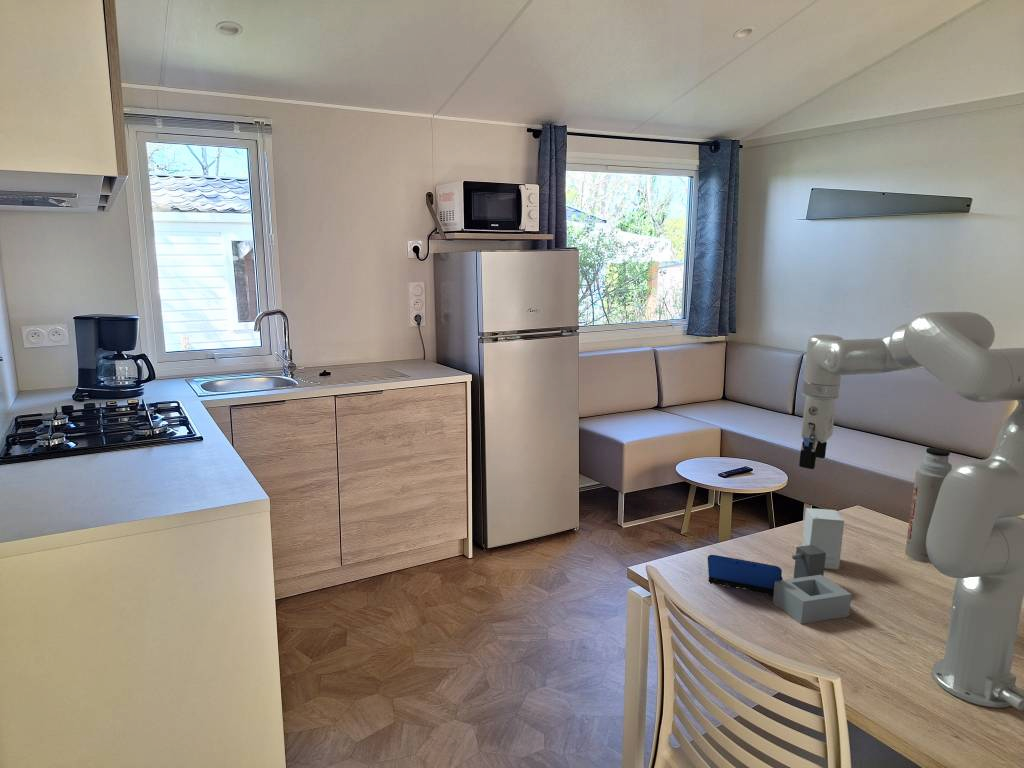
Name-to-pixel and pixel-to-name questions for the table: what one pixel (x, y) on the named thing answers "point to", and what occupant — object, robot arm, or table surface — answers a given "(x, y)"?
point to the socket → (811, 599)
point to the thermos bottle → (925, 500)
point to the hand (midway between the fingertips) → (812, 462)
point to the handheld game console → (743, 574)
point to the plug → (808, 561)
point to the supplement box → (824, 534)
